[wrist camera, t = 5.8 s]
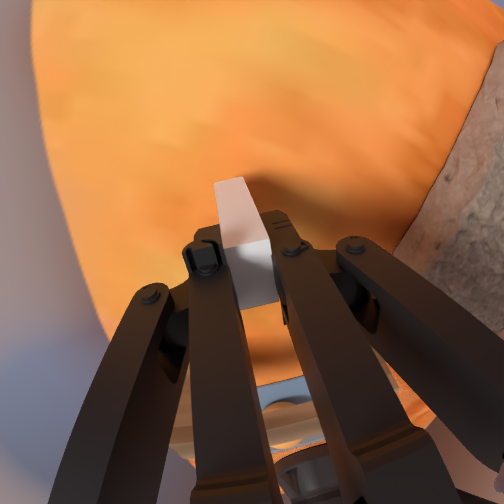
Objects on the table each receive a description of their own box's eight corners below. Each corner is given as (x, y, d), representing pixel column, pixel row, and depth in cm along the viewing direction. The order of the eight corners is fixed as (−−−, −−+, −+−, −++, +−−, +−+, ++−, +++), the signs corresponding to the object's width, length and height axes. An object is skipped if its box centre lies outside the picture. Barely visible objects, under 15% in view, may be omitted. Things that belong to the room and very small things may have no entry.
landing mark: (327, 415, 35) (327, 416, 35) (238, 437, 34) (238, 438, 34) (330, 367, 28) (331, 368, 28) (214, 395, 28) (214, 397, 28)
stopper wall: (319, 425, 36) (324, 439, 34) (249, 442, 36) (252, 457, 34) (320, 421, 36) (325, 436, 34) (247, 439, 35) (250, 455, 33)
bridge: (345, 321, 25) (390, 408, 17) (180, 360, 24) (183, 459, 17) (346, 296, 23) (399, 387, 16) (168, 338, 23) (166, 444, 15)
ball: (316, 448, 25) (306, 401, 27) (263, 460, 25) (251, 413, 27) (308, 434, 31) (299, 392, 32) (262, 444, 30) (252, 403, 32)
